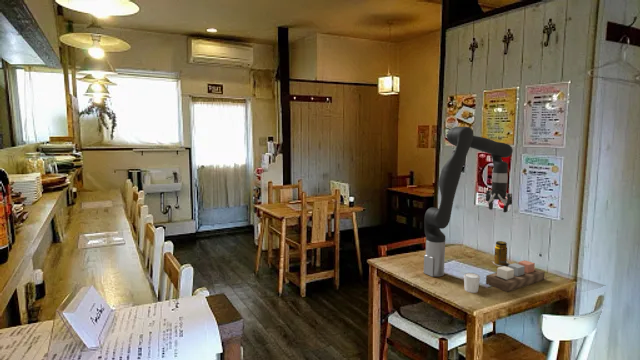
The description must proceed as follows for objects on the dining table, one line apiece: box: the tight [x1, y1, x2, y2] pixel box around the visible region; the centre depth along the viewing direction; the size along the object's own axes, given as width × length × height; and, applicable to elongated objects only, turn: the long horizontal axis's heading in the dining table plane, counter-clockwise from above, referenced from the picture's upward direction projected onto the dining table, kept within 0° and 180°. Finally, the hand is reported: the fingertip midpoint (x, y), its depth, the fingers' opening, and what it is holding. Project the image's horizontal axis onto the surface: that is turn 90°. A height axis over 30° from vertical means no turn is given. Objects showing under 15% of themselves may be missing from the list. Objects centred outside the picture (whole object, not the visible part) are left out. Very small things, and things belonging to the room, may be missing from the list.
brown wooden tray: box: [485, 268, 545, 293], centre depth 181 cm, size 28×11×4 cm, turn 120°
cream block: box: [496, 266, 514, 280], centre depth 176 cm, size 5×5×4 cm
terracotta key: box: [517, 260, 536, 273], centre depth 184 cm, size 5×5×4 cm
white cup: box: [463, 272, 481, 294], centre depth 171 cm, size 7×7×7 cm
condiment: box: [490, 240, 511, 267], centre depth 205 cm, size 7×8×12 cm
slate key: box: [507, 262, 525, 276], centre depth 180 cm, size 5×5×4 cm
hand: (497, 210), depth 207 cm, fingers open, 8 cm apart
